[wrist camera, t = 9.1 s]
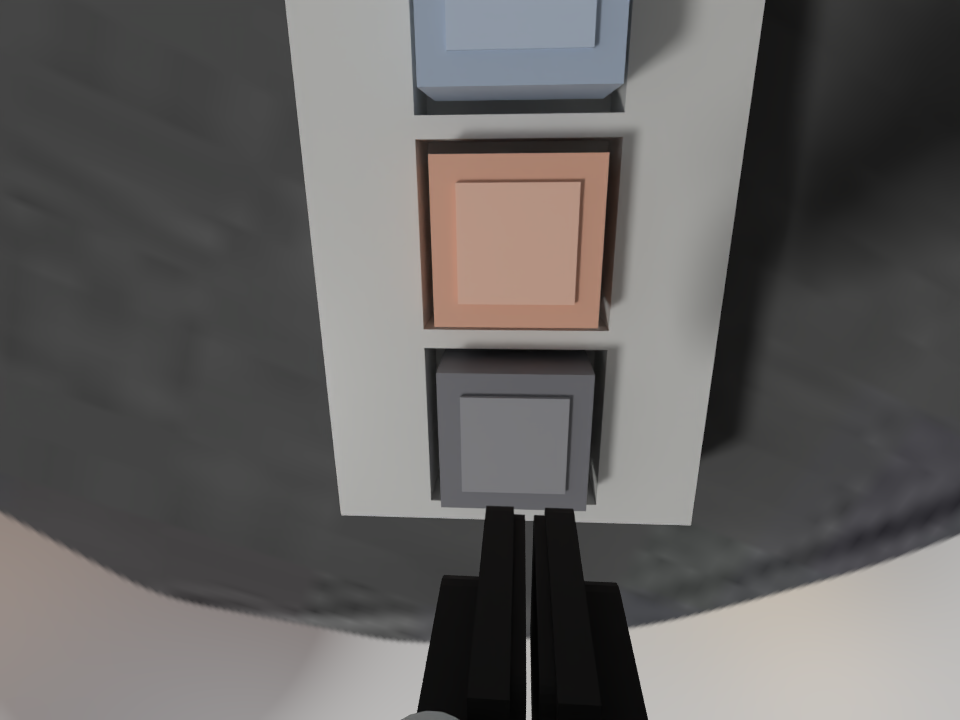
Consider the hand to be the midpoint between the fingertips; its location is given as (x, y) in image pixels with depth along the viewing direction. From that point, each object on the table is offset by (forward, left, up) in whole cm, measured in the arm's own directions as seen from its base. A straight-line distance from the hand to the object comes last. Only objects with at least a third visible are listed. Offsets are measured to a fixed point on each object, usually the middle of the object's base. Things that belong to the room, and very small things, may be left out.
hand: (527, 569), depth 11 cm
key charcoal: (0, +1, -9) cm, 9 cm away
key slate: (0, -11, -8) cm, 14 cm away
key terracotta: (0, -5, -9) cm, 11 cm away
